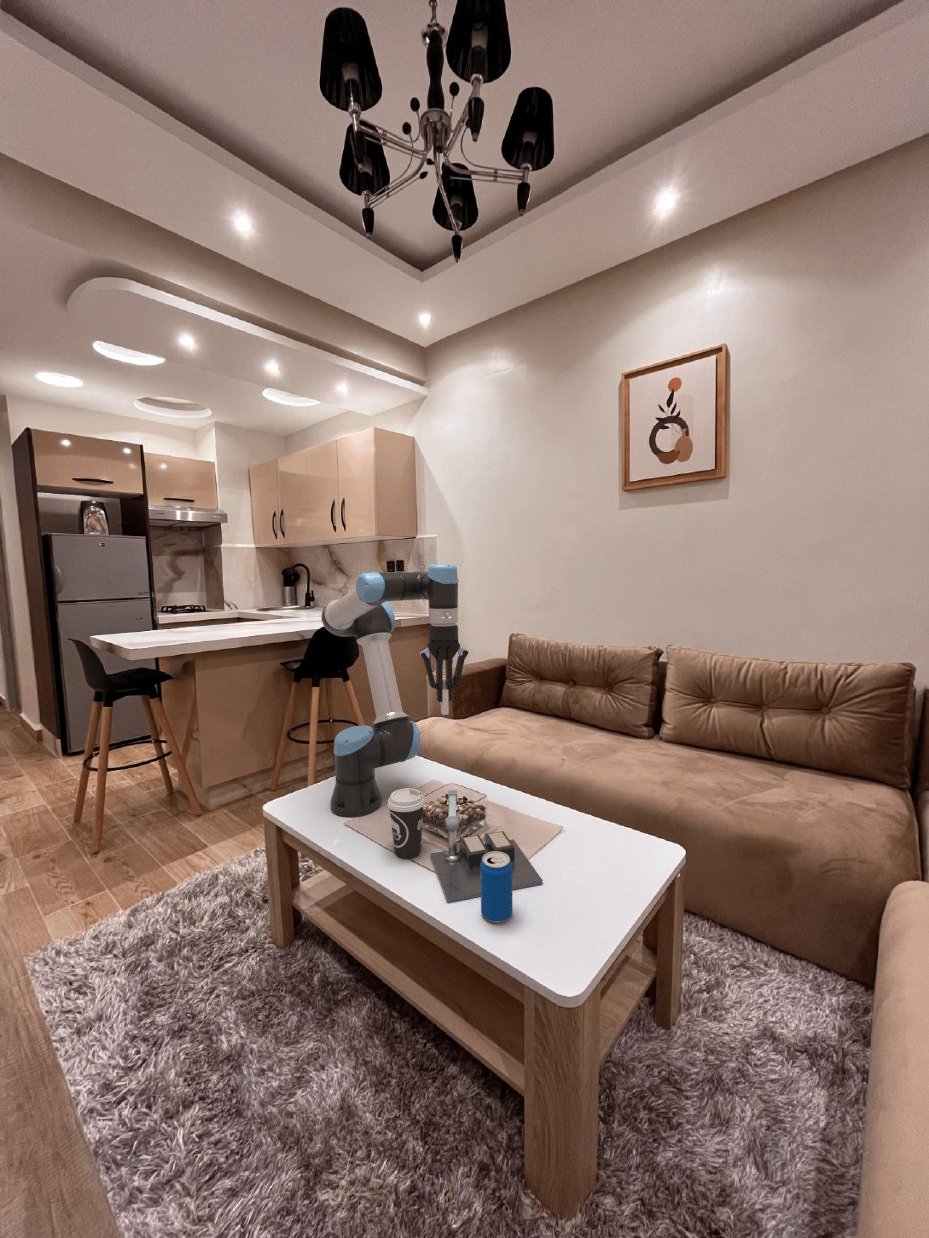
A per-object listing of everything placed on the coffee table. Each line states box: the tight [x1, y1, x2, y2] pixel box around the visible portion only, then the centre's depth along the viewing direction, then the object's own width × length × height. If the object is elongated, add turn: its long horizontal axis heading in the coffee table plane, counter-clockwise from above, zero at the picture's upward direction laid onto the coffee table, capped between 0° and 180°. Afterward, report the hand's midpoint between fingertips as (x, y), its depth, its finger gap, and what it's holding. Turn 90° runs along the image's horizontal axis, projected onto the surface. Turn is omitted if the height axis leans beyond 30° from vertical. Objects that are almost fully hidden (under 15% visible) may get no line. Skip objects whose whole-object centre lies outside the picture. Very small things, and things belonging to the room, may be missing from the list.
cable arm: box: [445, 789, 460, 831], centre depth 129 cm, size 3×18×2 cm, turn 1°
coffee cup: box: [386, 787, 426, 860], centre depth 125 cm, size 10×10×15 cm
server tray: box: [429, 830, 543, 904], centre depth 118 cm, size 18×22×8 cm
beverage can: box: [480, 851, 514, 924], centre depth 102 cm, size 6×6×12 cm
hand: (444, 713), depth 131 cm, fingers closed
